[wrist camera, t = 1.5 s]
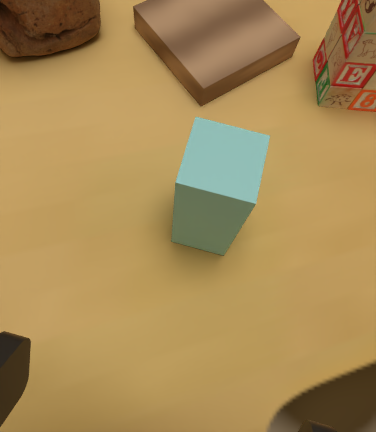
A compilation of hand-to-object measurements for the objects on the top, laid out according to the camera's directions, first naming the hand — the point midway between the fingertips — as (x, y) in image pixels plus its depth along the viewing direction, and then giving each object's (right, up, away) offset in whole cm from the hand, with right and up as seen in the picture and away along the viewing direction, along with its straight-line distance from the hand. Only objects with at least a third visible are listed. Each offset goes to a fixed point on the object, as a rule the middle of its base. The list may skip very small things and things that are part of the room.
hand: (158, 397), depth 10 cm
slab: (+4, +24, +28) cm, 37 cm away
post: (+2, +5, +20) cm, 21 cm away
